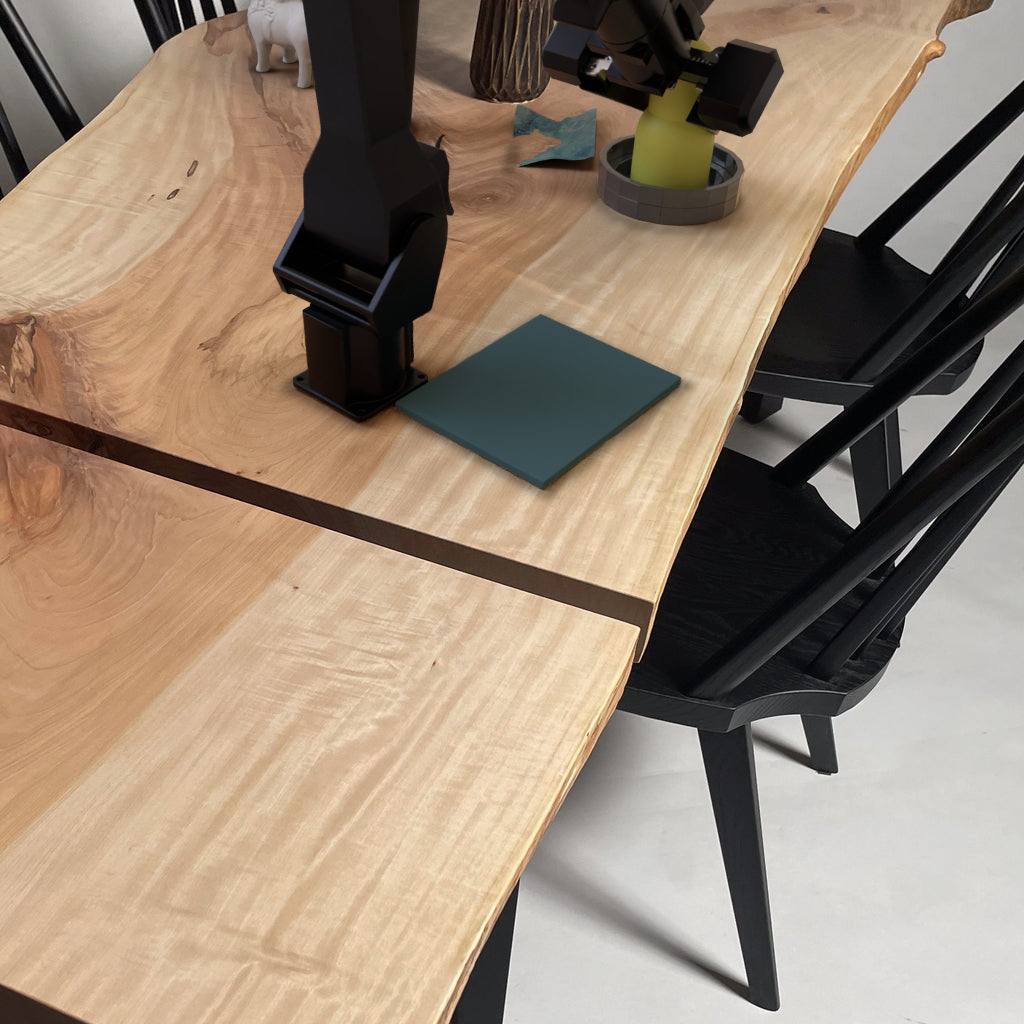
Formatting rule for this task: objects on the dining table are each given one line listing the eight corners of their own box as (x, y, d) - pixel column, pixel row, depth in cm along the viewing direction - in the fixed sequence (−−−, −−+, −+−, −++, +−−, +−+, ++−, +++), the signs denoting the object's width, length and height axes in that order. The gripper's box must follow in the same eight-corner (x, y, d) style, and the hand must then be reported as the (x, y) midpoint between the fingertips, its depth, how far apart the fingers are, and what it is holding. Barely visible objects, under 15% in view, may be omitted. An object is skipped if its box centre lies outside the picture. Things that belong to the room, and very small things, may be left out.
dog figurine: (266, 50, 120) (255, -58, 113) (349, 79, 114) (343, -33, 107) (227, 61, 117) (214, -49, 110) (311, 92, 111) (302, -22, 104)
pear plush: (678, 216, 92) (705, 38, 82) (613, 192, 95) (632, 18, 85) (719, 192, 96) (749, 20, 86) (656, 170, 99) (678, 1, 89)
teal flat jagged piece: (593, 176, 98) (594, 155, 97) (506, 173, 98) (506, 153, 97) (596, 122, 108) (596, 103, 106) (516, 120, 108) (516, 101, 107)
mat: (542, 490, 65) (543, 482, 64) (394, 409, 70) (394, 402, 70) (680, 384, 74) (682, 377, 73) (540, 320, 79) (540, 313, 79)
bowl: (688, 246, 89) (694, 205, 87) (567, 199, 95) (571, 160, 92) (762, 199, 96) (770, 160, 94) (647, 158, 102) (651, 121, 100)
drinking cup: (332, 138, 102) (316, -103, 89) (360, 109, 108) (349, -121, 95) (411, 149, 101) (406, -93, 88) (435, 119, 107) (434, -113, 94)
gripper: (800, -70, 74) (833, 59, 88) (573, -118, 82) (636, 7, 96) (723, 79, 74) (767, 184, 88) (504, 16, 82) (577, 122, 96)
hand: (685, 119), depth 92 cm, fingers closed on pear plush, 6 cm apart
